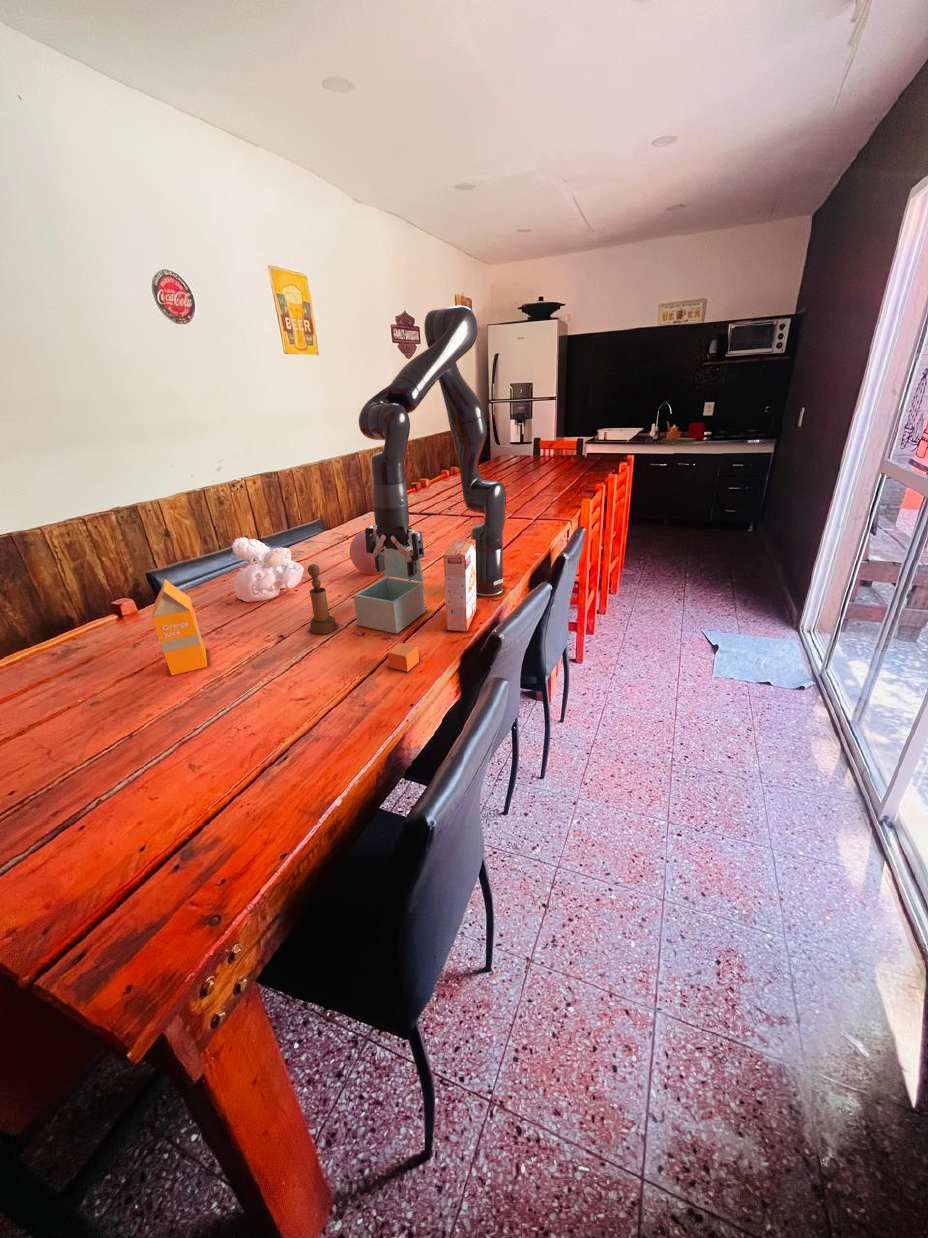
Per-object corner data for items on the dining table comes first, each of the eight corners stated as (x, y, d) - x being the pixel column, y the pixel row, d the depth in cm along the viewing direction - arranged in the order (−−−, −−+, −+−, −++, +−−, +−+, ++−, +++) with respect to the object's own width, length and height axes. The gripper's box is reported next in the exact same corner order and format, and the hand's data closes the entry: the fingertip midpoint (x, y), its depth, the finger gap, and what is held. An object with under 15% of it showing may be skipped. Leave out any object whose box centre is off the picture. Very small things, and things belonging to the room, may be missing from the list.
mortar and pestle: (341, 625, 133) (331, 562, 125) (326, 636, 128) (314, 570, 120) (322, 621, 136) (311, 559, 128) (306, 631, 130) (293, 567, 123)
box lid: (412, 530, 126) (421, 522, 129) (372, 526, 131) (382, 518, 135) (422, 581, 135) (431, 572, 138) (384, 575, 140) (393, 567, 144)
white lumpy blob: (205, 576, 145) (244, 526, 154) (245, 613, 161) (278, 566, 170) (251, 588, 138) (289, 535, 146) (288, 626, 154) (321, 576, 162)
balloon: (402, 560, 180) (398, 519, 173) (395, 580, 162) (390, 535, 155) (359, 562, 180) (354, 520, 173) (348, 582, 162) (342, 537, 155)
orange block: (401, 657, 117) (399, 642, 115) (419, 661, 115) (417, 646, 113) (389, 667, 113) (387, 652, 111) (407, 672, 111) (406, 656, 109)
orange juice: (170, 675, 113) (143, 595, 104) (171, 658, 120) (145, 582, 111) (208, 666, 116) (184, 587, 107) (206, 650, 123) (184, 575, 114)
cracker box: (468, 632, 127) (466, 555, 118) (445, 631, 128) (441, 554, 119) (478, 610, 139) (476, 538, 130) (457, 608, 140) (454, 537, 131)
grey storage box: (396, 633, 128) (393, 602, 124) (357, 625, 133) (353, 595, 129) (425, 611, 139) (423, 582, 135) (388, 604, 145) (385, 576, 141)
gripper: (427, 502, 107) (431, 573, 114) (374, 497, 113) (381, 564, 120) (408, 509, 101) (413, 583, 108) (353, 503, 107) (361, 574, 114)
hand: (396, 573), depth 114 cm, fingers open, 8 cm apart
